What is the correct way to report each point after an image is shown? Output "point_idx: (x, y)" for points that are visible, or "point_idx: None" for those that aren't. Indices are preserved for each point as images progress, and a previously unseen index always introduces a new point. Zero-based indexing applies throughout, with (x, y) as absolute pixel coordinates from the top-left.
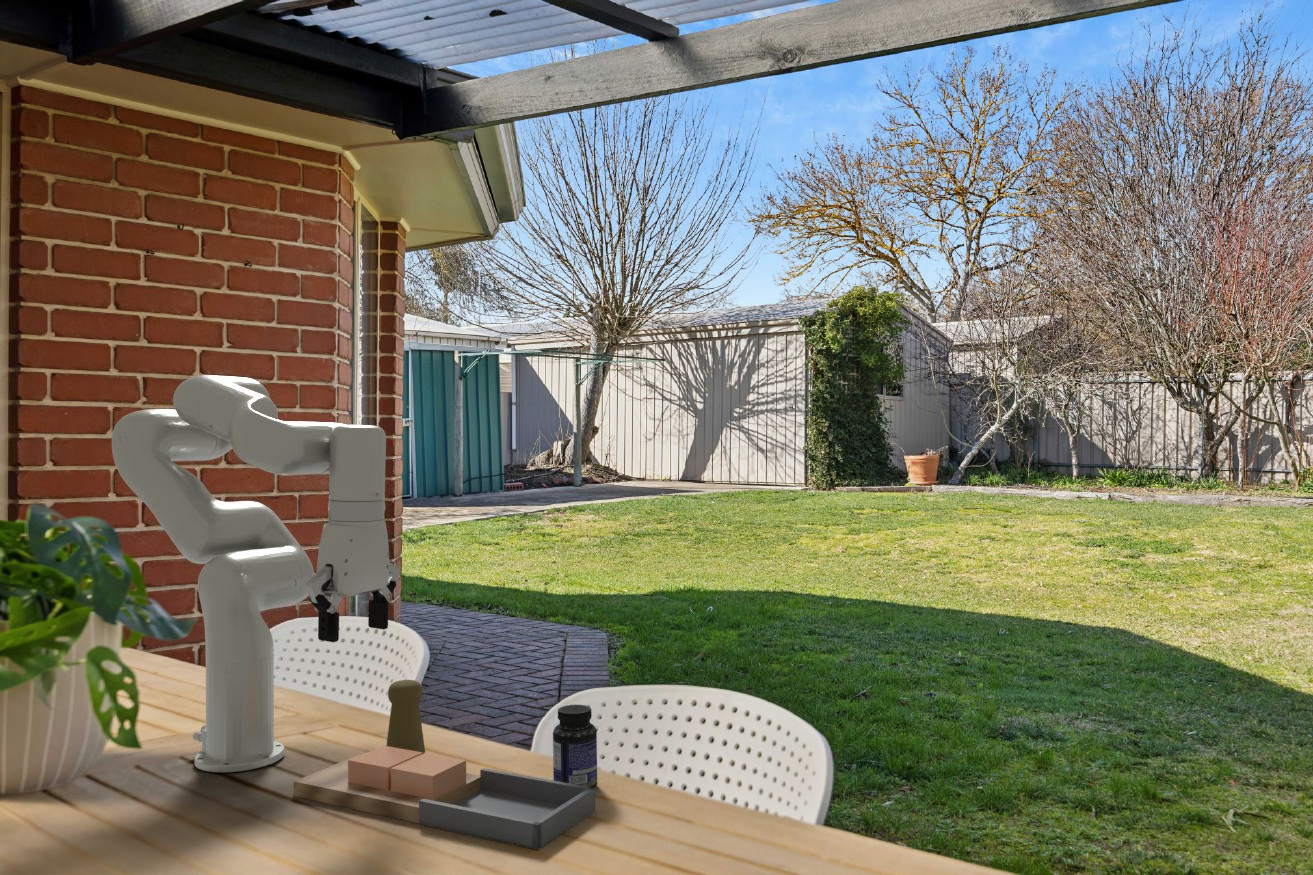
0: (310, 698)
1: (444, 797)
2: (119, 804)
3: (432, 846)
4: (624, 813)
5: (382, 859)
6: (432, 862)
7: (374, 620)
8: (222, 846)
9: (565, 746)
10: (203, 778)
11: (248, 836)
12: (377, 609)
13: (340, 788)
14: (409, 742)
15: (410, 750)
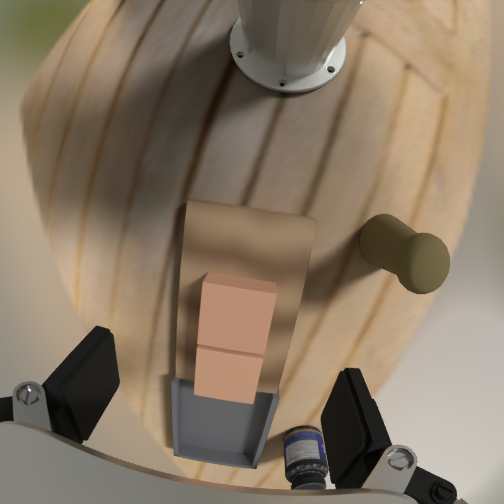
0: (489, 31)
1: None
2: (122, 43)
3: (147, 390)
4: (258, 466)
5: None
6: (128, 396)
7: (336, 406)
8: (72, 227)
9: (285, 468)
10: (213, 50)
11: (92, 233)
12: (341, 446)
13: (186, 275)
14: (373, 262)
15: (266, 338)
